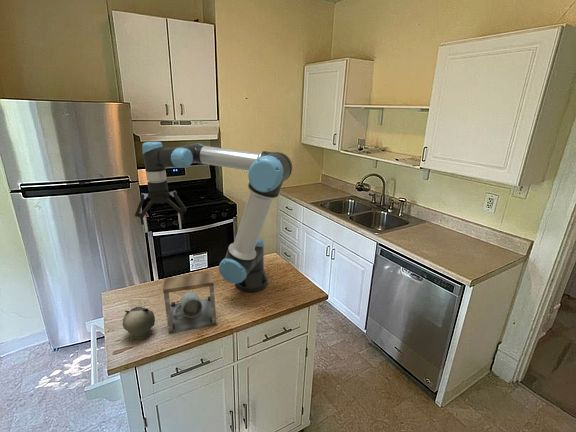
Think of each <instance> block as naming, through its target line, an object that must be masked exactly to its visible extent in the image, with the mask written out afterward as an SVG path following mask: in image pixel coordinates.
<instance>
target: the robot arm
mask: <svg viewBox="0 0 576 432" xmlns="http://www.w3.org/2000/svg"><path fill="white" fill-rule="evenodd" d="M141 146H142V147H141V148H142V157H143V162H144V168H145V176H146V177H145V178H146V181H147V189H148V193H144V192H141V193H140V201H139V204H138V205H137V208H136V210H135V213H134V216H135V218H136V217H138V218H139V220H140V224H141V225H142V226H144V232H145V233H148V232H149V228H148V222H147V216H146V214H147V212H148V211H149V209H150V208H151V207H152V206H153V204H165V203H167V204H168V205H170V206H171V208H173V209H174V210H175V211H177V216H178V219H177V220H178V224H179V225H178V226H179V229H180V230H181V229H182V221H184V213H186V212H187V211H188V210H187V207H186V206H185V204H184V203H183V202H182V200H181V199H180V197H179V195H178V193H177V191H176V190H173V191H169V186H168V181H167V172H166V168H179V169H183V168H184V169H185V168H190V166H191V165H192V164H201V165H203V164H204V165H209V166H216V167H222V168H229V169H234V170H235V169H237V170H241V171H247V172H248V175H247V177H248V180H249V181H248V185H247V188H248V190H249V195H248V199H247V201H246V205H245V207H244V211H243V214H242V217H241V220H240V223H239V226H238V228H237V232H236V235H235V238H234V241H233V242H232V243H230V244H229V245H228V247H227V251H226V254H225V257H224V258H223V259H221V261H220V262H219V265H218V272H219V274H220V275H221V277H222V279H224V280H225V281H227V282H228V283H230V284H234V285H235V288H236V289H237V290H239V291H240V292H244V293H256V292H259V291H262V290H264V289H265V288H267V286H268V284H269V282H268V280H269V279H268V276H267V273H266V270H265V264H264V263H265V262H264V258H265V256H264V250H265V249H264V248H265V245H264V240H263V239H262V238H261V237H260V235H261V233H262V230H263V226H264V223H265V221H266V219H267V215H268V213H269V210H270V207H271V204H272V202H273V200H274V199H276V198H278V197H279V194H280V191H281V189H282V186H283V183H284V182H285V181H287V180H288V179H290V176H291V175H292V172H293V163H292V161H291V158H290V157H289V156H288V155H287V154H285V153H283V152H279V151H266V150H262V151H261V152H254V151H245V150H238V149H231V148H222V147H215V146H208V145H204V144H202V143H191V144H187V145H182V146H175V147H164V145H163V143H162V142H161V141H147V142H143V143H142V145H141ZM170 196H171V197H173V198H174V199H175V201H176V202H177V204H178V205H179V206H180V207H179V206H178V205H177V204H176V203H174V201H172V200H171V199H170ZM147 198H149V200H150V201H149V202H148V203H147V204H146V206H145V208H144V209H142V206H143V203H144V201H145V200H146V199H147ZM141 209H142V211H141Z"/></svg>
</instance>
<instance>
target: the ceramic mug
mask: <svg viewBox="0 0 576 432" xmlns="http://www.w3.org/2000/svg"><path fill="white" fill-rule="evenodd" d="M200 300H201V299H200V298H199V296H198V294H197V293H195V292H193V291H188V292H185V293H183V294H182V295H181V297H180V301H179V303H180V305H179V306H177V307H176V308H175V309H174V311H173V315H174V316H175V317H176V318H179V317H181V316H183V315H184V316H185V317H188V318H192V317H196V316H197V315H199V314H200V312H201V311H202V303H201V301H200ZM180 308H181V309H182V312H181V313H179V314H176V312H177V311H178V310H179V309H180Z"/></svg>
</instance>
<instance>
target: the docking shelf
mask: <svg viewBox="0 0 576 432" xmlns="http://www.w3.org/2000/svg"><path fill="white" fill-rule="evenodd" d="M202 288H209V296H207V298H204V299H203V298H202V299H200V301H201V303H202V311H201V312H200V314H199V315H197V316H196V317H192V318H188V317H185V316H184V315H183V316H181V317H179V318H176V317H175V316H174V315H173V311H174V309H175V308H176V307H177V306H179V305H180V302H177V303H176V301H170V293H174V292H175V293H176V292H182V291H190V290H196V289H202ZM162 291H163V298H164V306H165V313H166V321H167V327H168V329H167V330H168V334H175V333H181V332H186V331H191V330H196V329H198V330H199V329H203V328H208V327H213V326H217V324H218V323H217V312H216V311H217V310H216V299H215V284H214V278H213V272H205V273H198V274H191V275H184V276H182V275H181V276H176V277H175V276H174V277H169V278H164V280H163V289H162ZM181 312H182V309H181V308H180V309H179V310H178V311H177V312H176V314H179V313H181Z"/></svg>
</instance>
